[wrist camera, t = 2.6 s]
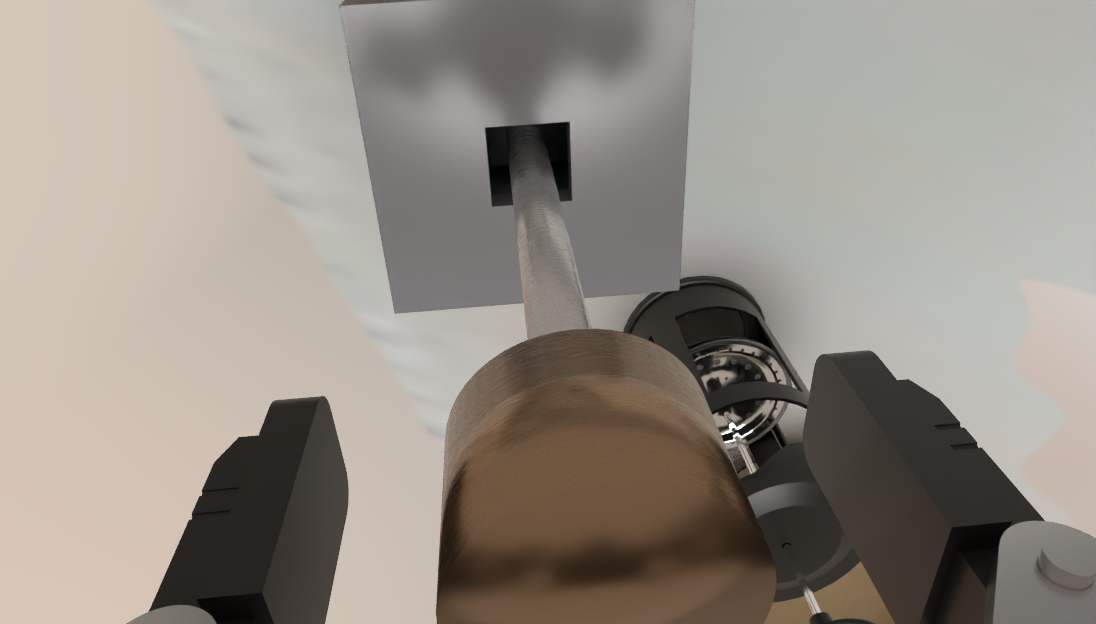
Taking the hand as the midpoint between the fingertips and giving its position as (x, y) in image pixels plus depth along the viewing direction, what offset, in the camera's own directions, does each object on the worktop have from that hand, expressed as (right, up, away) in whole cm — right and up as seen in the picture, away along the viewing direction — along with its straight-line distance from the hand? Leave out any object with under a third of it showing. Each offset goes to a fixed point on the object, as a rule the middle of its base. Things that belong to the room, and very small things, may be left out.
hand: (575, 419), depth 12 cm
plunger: (-2, +11, +18) cm, 21 cm away
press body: (-3, +16, +26) cm, 30 cm away
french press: (+9, 0, +37) cm, 38 cm away
